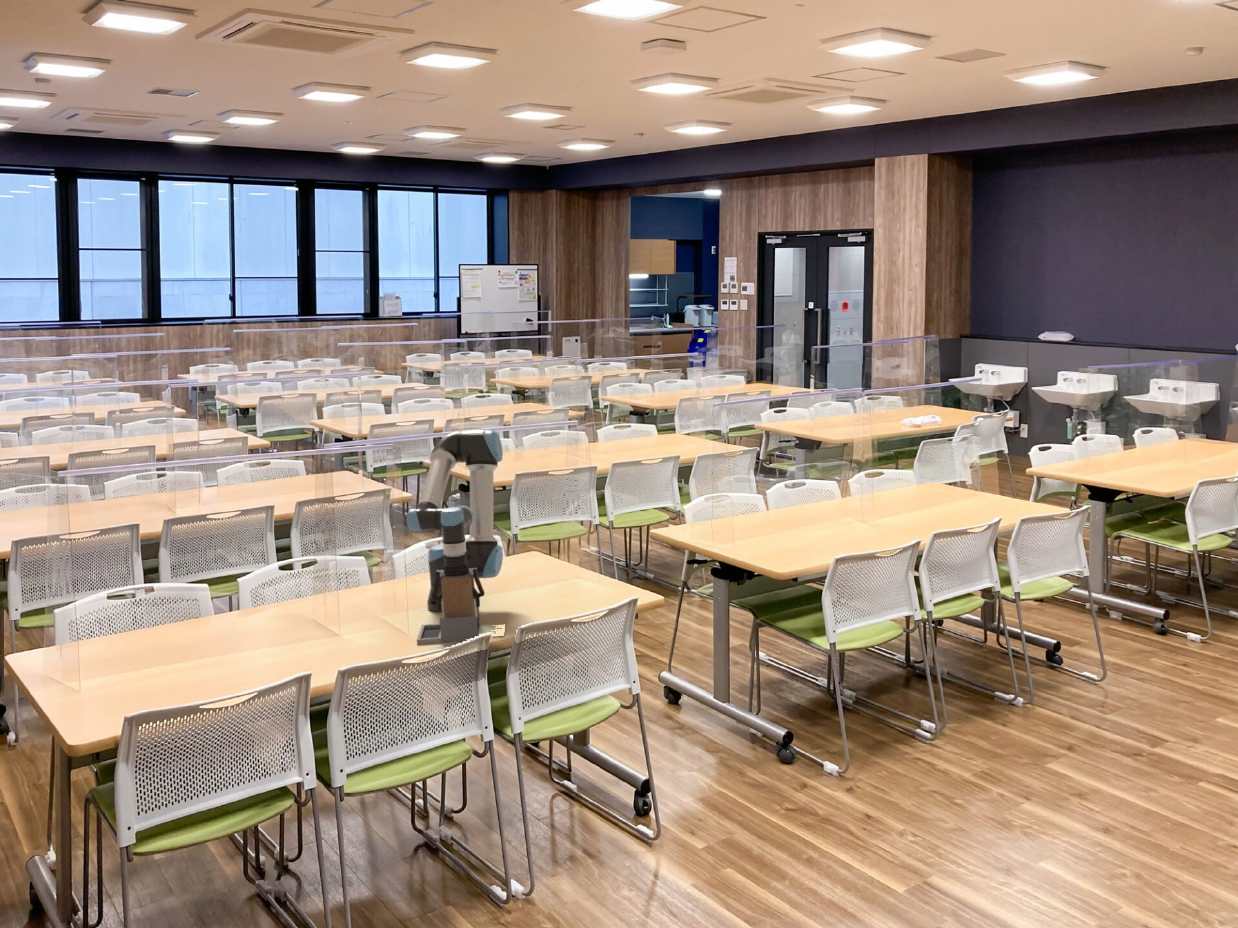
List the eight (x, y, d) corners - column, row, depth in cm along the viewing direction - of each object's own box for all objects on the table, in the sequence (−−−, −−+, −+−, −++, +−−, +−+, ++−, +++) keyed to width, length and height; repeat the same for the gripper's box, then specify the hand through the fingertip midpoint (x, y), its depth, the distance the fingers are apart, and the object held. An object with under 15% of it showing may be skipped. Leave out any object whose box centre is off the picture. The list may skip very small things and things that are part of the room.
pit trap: (422, 628, 404) (421, 624, 404) (445, 627, 405) (445, 623, 404) (417, 644, 389) (416, 639, 388) (441, 642, 389) (441, 638, 389)
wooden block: (474, 634, 393) (470, 576, 389) (445, 635, 393) (440, 578, 389) (477, 624, 403) (473, 568, 399) (448, 626, 403) (444, 570, 399)
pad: (479, 626, 404) (479, 625, 404) (505, 624, 404) (505, 623, 404) (477, 638, 391) (477, 637, 391) (504, 636, 392) (504, 635, 391)
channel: (445, 627, 405) (443, 605, 403) (480, 624, 405) (478, 602, 404) (441, 642, 389) (439, 619, 388) (477, 639, 390) (475, 616, 388)
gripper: (419, 559, 388) (425, 623, 392) (488, 554, 389) (493, 618, 393) (422, 553, 395) (427, 616, 399) (489, 548, 396) (494, 611, 400)
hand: (460, 617), depth 396 cm, fingers closed on wooden block, 10 cm apart
